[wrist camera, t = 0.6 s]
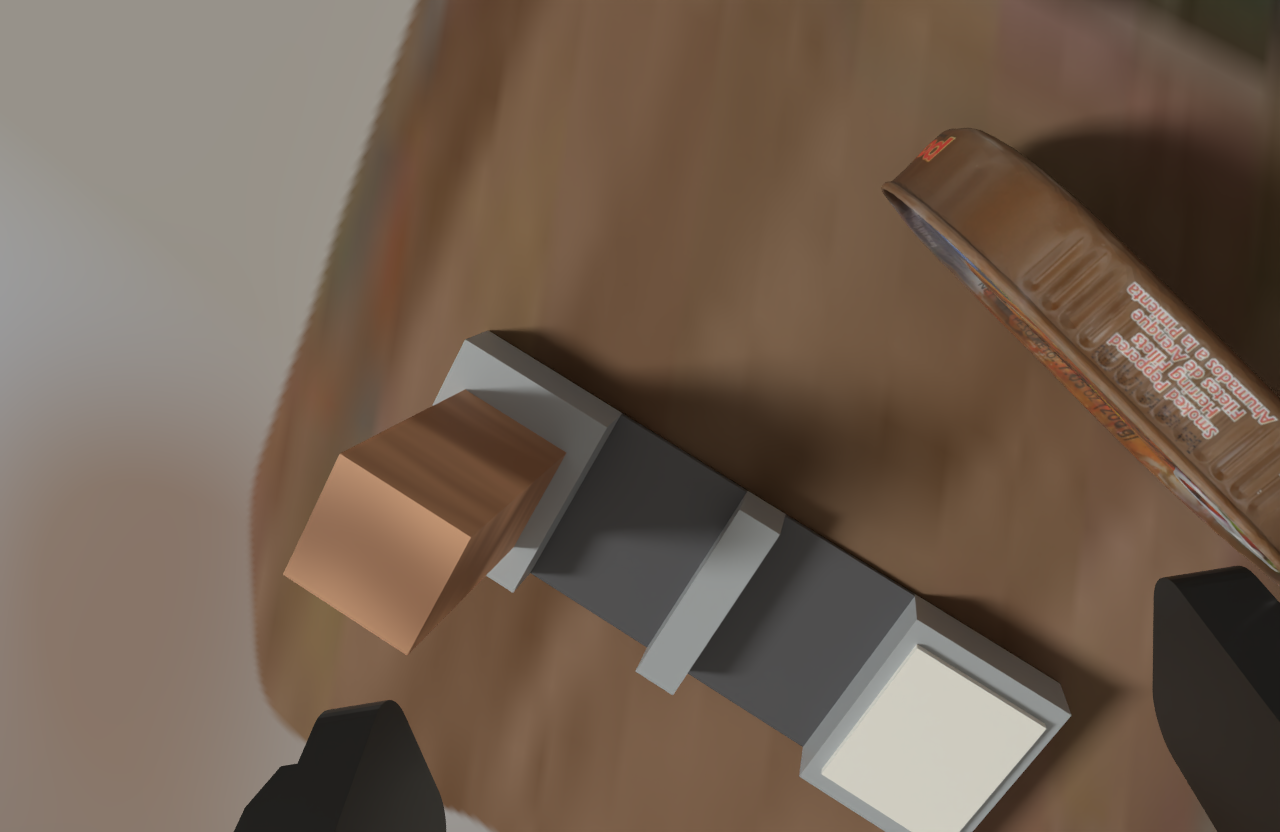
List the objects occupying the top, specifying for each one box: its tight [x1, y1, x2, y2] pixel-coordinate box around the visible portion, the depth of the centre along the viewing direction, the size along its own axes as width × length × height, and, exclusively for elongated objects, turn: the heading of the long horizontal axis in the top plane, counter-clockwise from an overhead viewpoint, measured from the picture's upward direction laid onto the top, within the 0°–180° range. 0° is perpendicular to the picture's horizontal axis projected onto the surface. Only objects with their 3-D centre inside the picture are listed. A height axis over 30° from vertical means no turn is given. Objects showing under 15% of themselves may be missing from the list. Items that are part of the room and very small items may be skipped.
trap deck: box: [432, 331, 1071, 832], centre depth 33 cm, size 7×22×2 cm, turn 61°
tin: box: [881, 128, 1280, 586], centre depth 26 cm, size 15×3×8 cm, turn 47°
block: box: [283, 390, 566, 655], centre depth 29 cm, size 4×4×8 cm
